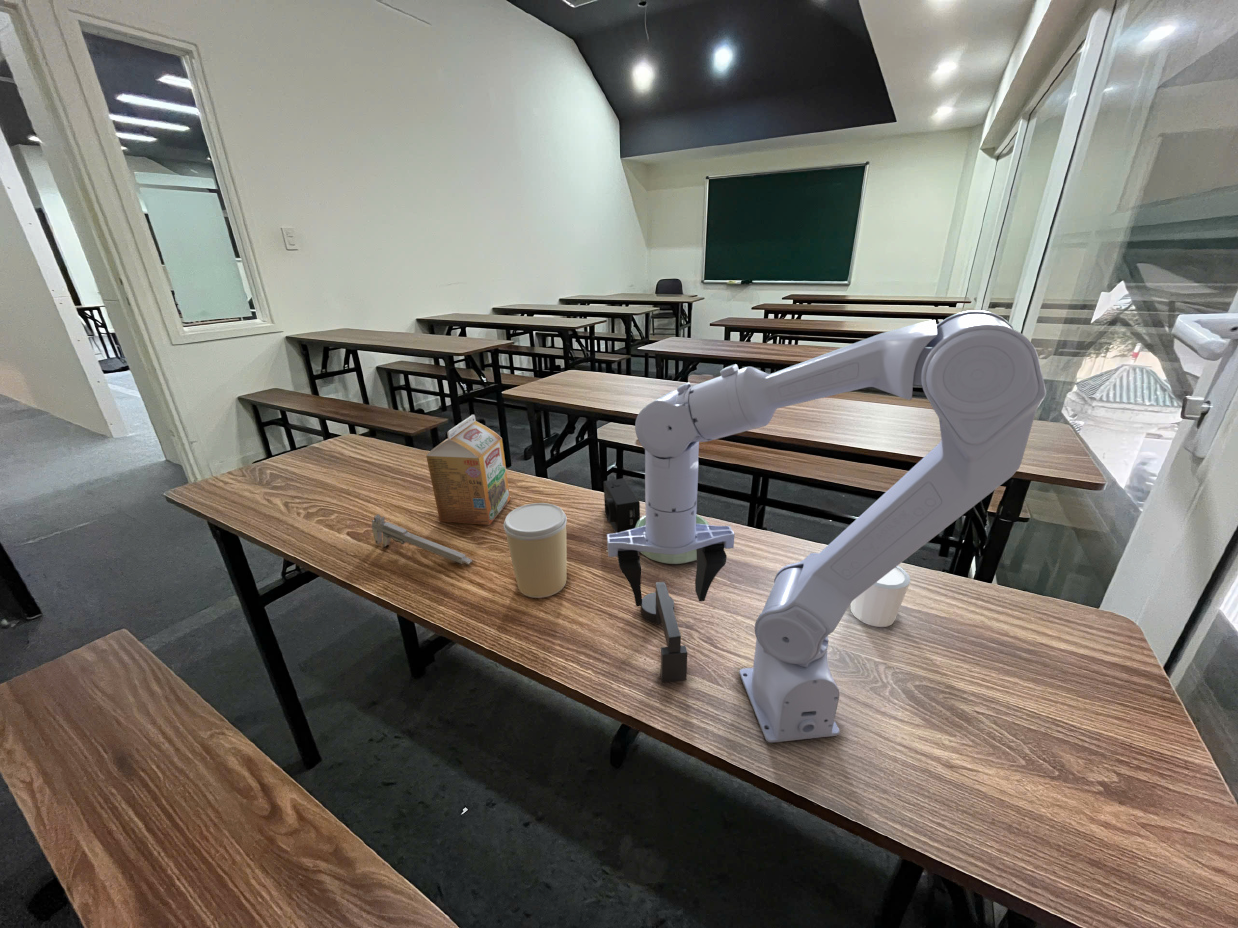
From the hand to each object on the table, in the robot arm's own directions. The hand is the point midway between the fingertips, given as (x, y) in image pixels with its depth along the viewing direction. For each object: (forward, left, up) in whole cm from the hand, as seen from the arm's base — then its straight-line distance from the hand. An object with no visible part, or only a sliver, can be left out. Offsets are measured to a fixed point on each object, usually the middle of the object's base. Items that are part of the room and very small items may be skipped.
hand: (669, 598), depth 59 cm
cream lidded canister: (+17, +17, -9) cm, 26 cm away
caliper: (+28, +39, -9) cm, 48 cm away
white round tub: (+4, -30, -9) cm, 31 cm away
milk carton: (+43, +32, -9) cm, 54 cm away
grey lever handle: (+3, 0, -9) cm, 9 cm away
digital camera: (+33, +3, -9) cm, 35 cm away
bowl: (+25, -5, -9) cm, 27 cm away
